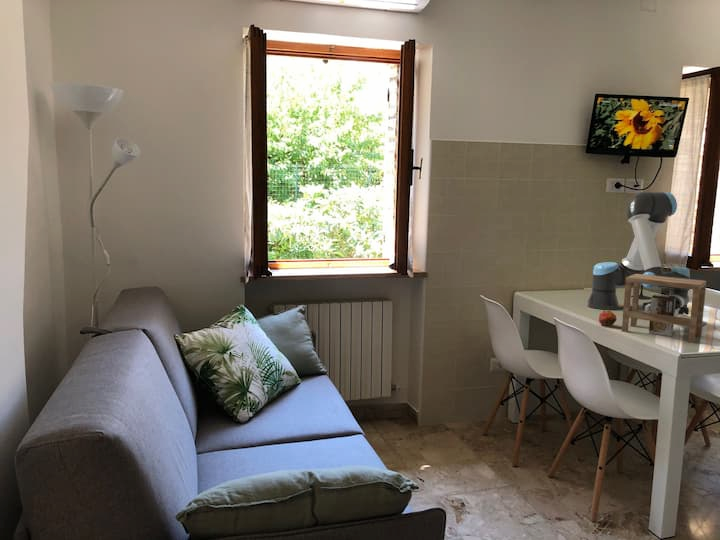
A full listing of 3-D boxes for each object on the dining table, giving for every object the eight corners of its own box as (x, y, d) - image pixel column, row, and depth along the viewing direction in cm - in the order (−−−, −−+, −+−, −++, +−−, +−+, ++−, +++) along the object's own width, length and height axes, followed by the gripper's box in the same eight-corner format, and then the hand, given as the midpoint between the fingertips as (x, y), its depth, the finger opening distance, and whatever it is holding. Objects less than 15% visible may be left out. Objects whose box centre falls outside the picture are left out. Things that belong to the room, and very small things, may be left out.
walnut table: (631, 325, 265) (635, 273, 261) (701, 335, 247) (706, 280, 243) (621, 331, 254) (625, 277, 250) (693, 342, 236) (699, 285, 232)
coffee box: (673, 333, 251) (676, 297, 248) (671, 336, 245) (675, 299, 243) (649, 330, 255) (653, 294, 253) (647, 333, 250) (651, 296, 248)
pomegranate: (617, 332, 260) (614, 315, 267) (618, 322, 256) (615, 305, 262) (600, 332, 262) (597, 316, 269) (600, 322, 258) (597, 305, 264)
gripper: (701, 315, 255) (690, 324, 239) (644, 308, 270) (630, 315, 254) (703, 299, 254) (692, 306, 238) (646, 292, 269) (632, 299, 253)
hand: (660, 311), depth 246 cm, fingers open, 11 cm apart
